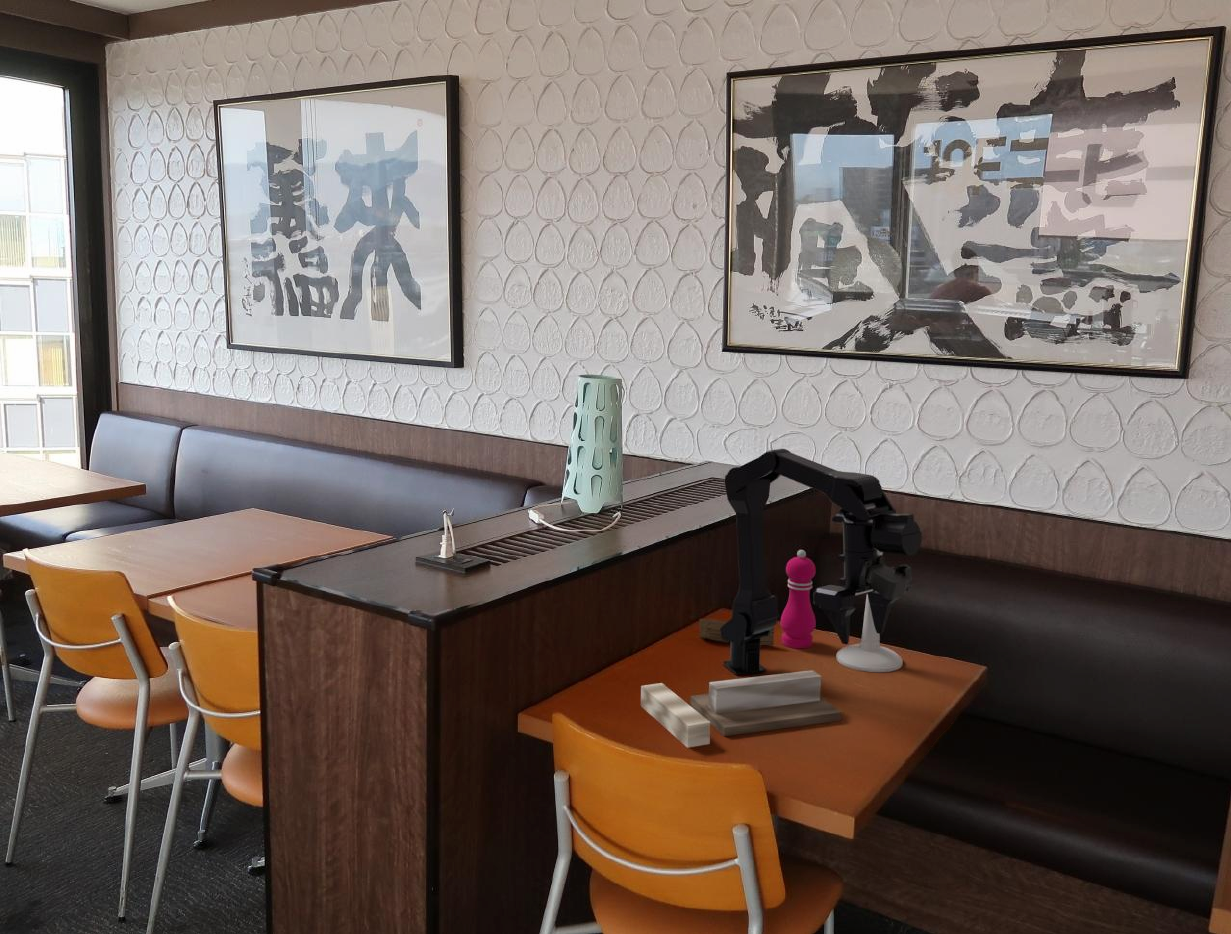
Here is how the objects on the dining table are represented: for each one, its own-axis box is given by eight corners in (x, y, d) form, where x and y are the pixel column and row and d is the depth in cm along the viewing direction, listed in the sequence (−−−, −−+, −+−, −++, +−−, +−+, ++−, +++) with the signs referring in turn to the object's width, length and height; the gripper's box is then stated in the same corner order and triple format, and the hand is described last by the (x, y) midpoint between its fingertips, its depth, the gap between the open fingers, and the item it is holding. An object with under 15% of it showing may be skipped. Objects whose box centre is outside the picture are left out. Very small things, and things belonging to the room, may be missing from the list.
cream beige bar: (640, 707, 183) (641, 685, 182) (661, 704, 184) (661, 682, 184) (687, 749, 166) (688, 725, 166) (709, 745, 168) (710, 722, 167)
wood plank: (773, 644, 216) (774, 621, 215) (773, 647, 214) (774, 624, 213) (699, 638, 219) (700, 615, 218) (698, 642, 217) (699, 619, 216)
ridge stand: (690, 704, 184) (691, 671, 183) (800, 690, 191) (802, 659, 190) (723, 736, 171) (725, 701, 170) (841, 720, 178) (842, 687, 177)
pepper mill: (793, 635, 221) (797, 543, 218) (821, 644, 216) (826, 550, 213) (772, 642, 216) (776, 549, 213) (801, 651, 211) (805, 556, 208)
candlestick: (862, 675, 199) (871, 522, 194) (823, 654, 210) (831, 508, 205) (916, 667, 204) (926, 517, 199) (875, 646, 216) (884, 504, 210)
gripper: (863, 563, 166) (865, 659, 168) (933, 546, 177) (935, 636, 179) (810, 555, 175) (812, 646, 176) (880, 539, 186) (882, 625, 188)
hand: (862, 638), depth 180 cm, fingers open, 9 cm apart
